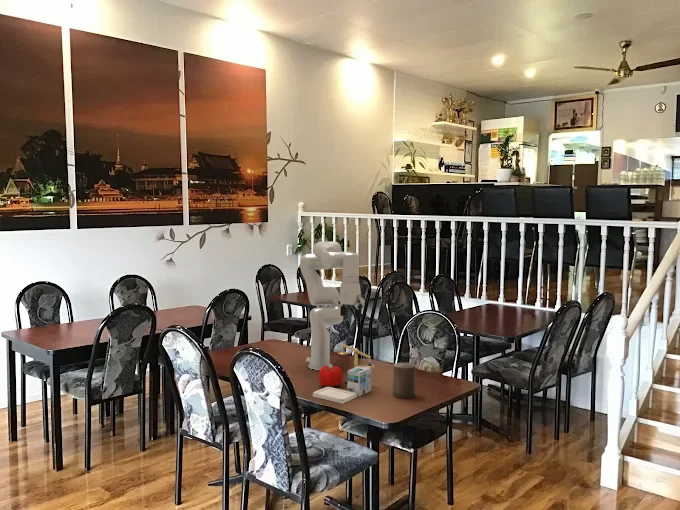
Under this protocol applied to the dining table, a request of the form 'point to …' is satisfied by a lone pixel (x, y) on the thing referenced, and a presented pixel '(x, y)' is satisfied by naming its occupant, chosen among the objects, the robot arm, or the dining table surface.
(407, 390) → the pillar candle
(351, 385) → the light bulb box
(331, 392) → the platter
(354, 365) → the balance
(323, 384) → the tomato
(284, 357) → the dining table surface
